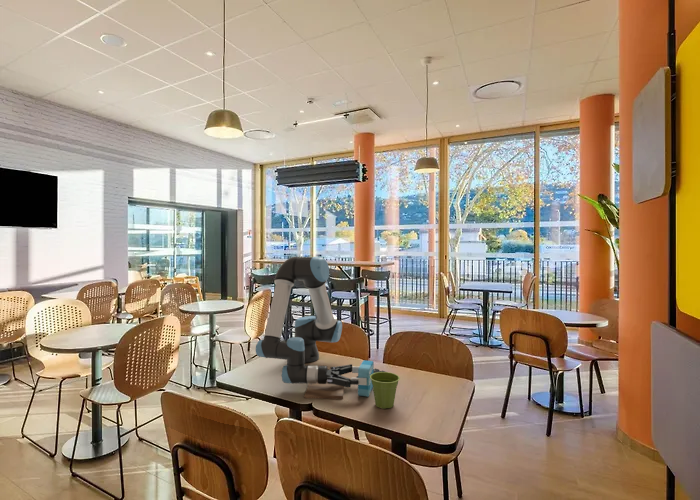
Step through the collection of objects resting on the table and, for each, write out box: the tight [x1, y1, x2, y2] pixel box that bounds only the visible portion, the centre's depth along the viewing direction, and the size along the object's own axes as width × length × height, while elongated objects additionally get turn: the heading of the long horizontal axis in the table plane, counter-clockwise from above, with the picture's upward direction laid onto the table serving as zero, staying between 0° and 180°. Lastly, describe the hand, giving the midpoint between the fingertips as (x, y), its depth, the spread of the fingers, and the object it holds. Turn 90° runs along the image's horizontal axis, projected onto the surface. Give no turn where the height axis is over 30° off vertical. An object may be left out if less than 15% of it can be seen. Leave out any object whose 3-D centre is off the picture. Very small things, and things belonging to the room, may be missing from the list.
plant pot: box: [370, 371, 401, 410], centre depth 141 cm, size 12×12×11 cm
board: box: [304, 382, 345, 400], centre depth 156 cm, size 16×16×1 cm
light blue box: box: [357, 359, 375, 398], centre depth 154 cm, size 12×4×12 cm, turn 166°
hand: (366, 375), depth 154 cm, fingers open, 13 cm apart
